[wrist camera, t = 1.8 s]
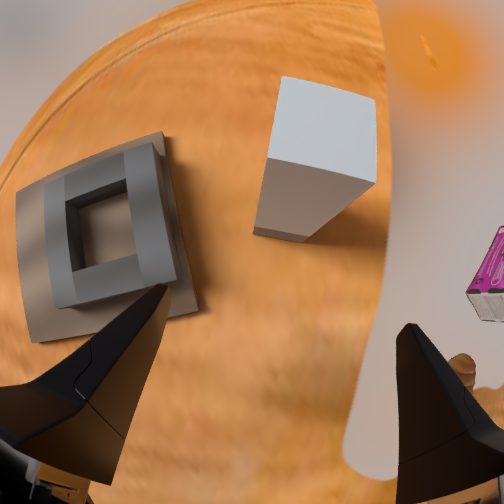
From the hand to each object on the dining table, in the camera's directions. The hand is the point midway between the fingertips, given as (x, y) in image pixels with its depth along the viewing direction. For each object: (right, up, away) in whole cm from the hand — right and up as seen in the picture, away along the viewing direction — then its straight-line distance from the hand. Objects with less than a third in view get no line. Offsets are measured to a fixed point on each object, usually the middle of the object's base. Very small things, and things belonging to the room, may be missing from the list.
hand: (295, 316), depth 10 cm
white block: (+1, +5, +14) cm, 15 cm away
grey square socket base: (-16, +3, +13) cm, 21 cm away
